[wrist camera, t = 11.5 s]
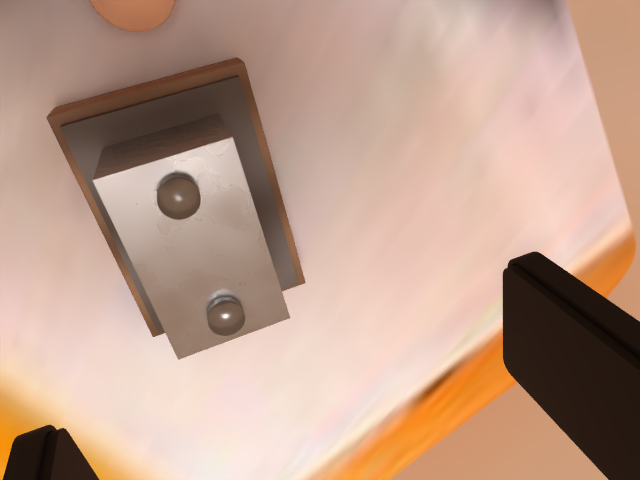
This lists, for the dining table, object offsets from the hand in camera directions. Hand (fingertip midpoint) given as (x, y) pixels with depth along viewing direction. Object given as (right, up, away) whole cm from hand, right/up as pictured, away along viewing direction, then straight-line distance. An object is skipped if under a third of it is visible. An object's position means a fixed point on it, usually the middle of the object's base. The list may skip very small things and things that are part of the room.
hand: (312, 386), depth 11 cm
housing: (-7, +4, +18) cm, 19 cm away
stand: (-8, +6, +20) cm, 22 cm away
